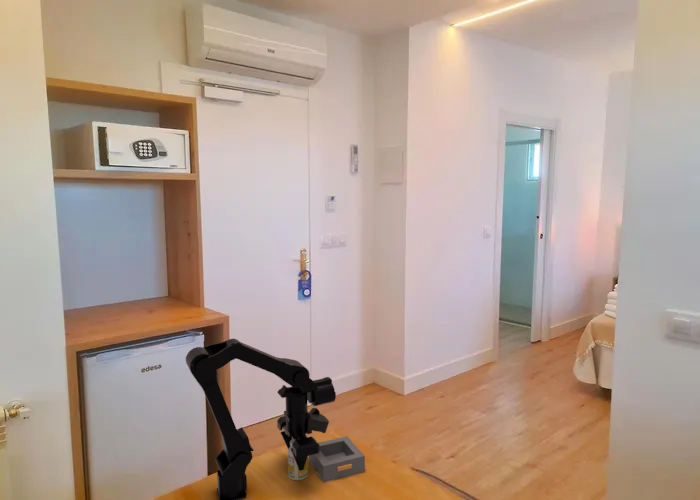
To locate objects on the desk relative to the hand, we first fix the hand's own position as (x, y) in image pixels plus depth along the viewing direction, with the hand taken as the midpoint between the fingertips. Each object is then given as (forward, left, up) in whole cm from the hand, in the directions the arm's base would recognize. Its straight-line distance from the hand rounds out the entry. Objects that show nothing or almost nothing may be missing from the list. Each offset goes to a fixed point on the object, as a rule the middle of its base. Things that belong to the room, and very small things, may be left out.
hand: (298, 464), depth 133 cm
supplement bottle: (0, 0, -3) cm, 3 cm away
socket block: (+11, 0, -3) cm, 11 cm away
